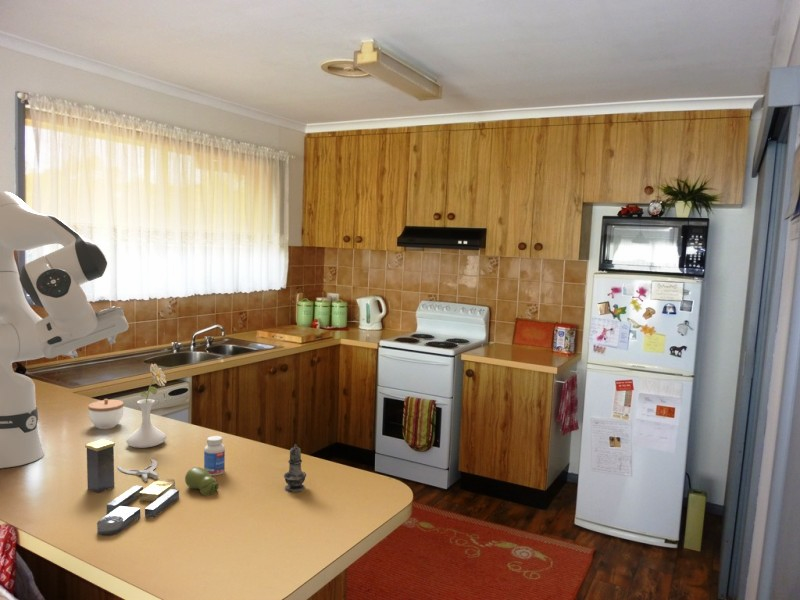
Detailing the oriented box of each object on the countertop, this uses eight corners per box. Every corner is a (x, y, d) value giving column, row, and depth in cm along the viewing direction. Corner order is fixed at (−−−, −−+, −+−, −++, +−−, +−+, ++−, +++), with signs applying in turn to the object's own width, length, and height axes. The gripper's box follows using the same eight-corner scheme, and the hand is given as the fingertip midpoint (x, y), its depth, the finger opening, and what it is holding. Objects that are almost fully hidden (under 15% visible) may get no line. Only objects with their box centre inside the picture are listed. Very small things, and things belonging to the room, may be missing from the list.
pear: (199, 461, 155) (224, 476, 150) (197, 479, 156) (222, 495, 151) (181, 467, 151) (207, 483, 145) (179, 486, 152) (204, 502, 146)
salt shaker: (310, 485, 155) (310, 441, 154) (299, 494, 150) (300, 449, 149) (290, 482, 157) (291, 438, 156) (279, 490, 152) (279, 446, 150)
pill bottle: (218, 477, 159) (218, 442, 158) (200, 475, 160) (200, 440, 159) (228, 469, 164) (228, 435, 163) (210, 467, 165) (210, 434, 164)
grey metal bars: (135, 493, 148) (135, 485, 148) (178, 497, 146) (178, 489, 146) (78, 532, 128) (77, 523, 127) (128, 538, 126) (127, 529, 126)
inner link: (161, 484, 153) (161, 477, 153) (178, 486, 152) (178, 479, 152) (139, 500, 144) (139, 492, 144) (158, 502, 143) (158, 494, 143)
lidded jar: (130, 425, 200) (130, 398, 199) (100, 433, 191) (99, 405, 190) (112, 419, 205) (111, 393, 204) (82, 427, 196) (81, 399, 195)
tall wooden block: (98, 493, 147) (97, 448, 146) (86, 489, 149) (85, 444, 148) (115, 486, 151) (114, 442, 150) (103, 482, 153) (102, 439, 152)
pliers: (152, 455, 170) (170, 471, 159) (153, 460, 170) (170, 477, 159) (116, 463, 164) (132, 480, 152) (116, 468, 164) (132, 486, 152)
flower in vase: (148, 453, 175) (146, 371, 172) (117, 448, 178) (116, 367, 176) (177, 439, 187) (177, 362, 184) (148, 434, 191) (147, 359, 188)
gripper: (116, 295, 148) (130, 324, 159) (28, 325, 140) (49, 354, 152) (124, 314, 145) (137, 342, 156) (34, 346, 137) (55, 373, 149)
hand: (93, 348), depth 154 cm, fingers open, 8 cm apart
